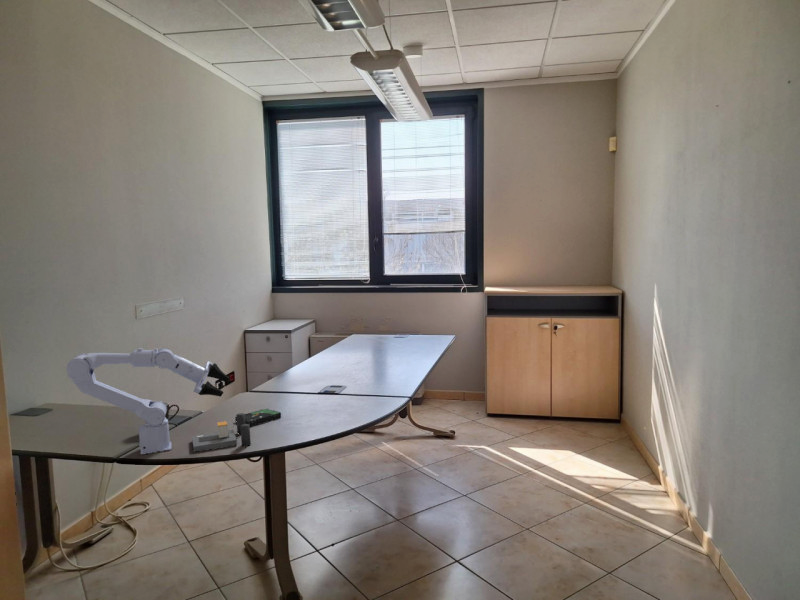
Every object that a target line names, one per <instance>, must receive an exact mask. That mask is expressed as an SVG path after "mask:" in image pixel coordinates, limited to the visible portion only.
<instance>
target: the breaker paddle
mask: <svg viewBox="0 0 800 600" xmlns="http://www.w3.org/2000/svg"><path fill="white" fill-rule="evenodd" d="M216 423H217V432H218V436H219V438H223V437H228V423H227V421H217V422H216Z"/></svg>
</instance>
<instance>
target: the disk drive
mask: <svg viewBox="0 0 800 600" xmlns="http://www.w3.org/2000/svg"><path fill="white" fill-rule="evenodd" d="M244 414H245V424H249V425H250V426H252V427H255V426H258V425H261V423H262V424H264V422H265V423H268V422H272V421H275V419H276V420H278V418H279V419H281V418H282V412H280V411H276V410H272V409H269V408H264V409H259V410H255V411H252V412H247V413H244ZM271 420H272V421H271ZM236 421H237V419H236V416H235V422H236ZM267 421H268V422H267Z"/></svg>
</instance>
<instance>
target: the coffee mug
mask: <svg viewBox="0 0 800 600" xmlns="http://www.w3.org/2000/svg"><path fill="white" fill-rule="evenodd" d="M162 402H163V403H164V404H165V405H166V406H167V412H166V414H165V417H166V419H168V423H169V422H170V421H171V420H172V419H173V418H174V417H175V416H177V414H178V413H179V411H180V407H179V406H178V405H177V404H171V405H170V402H168V401H162ZM173 407H176V408H177V410H176V412H175V413H174V414H173V415H172V416H171V417H169V416H170V415H169V414H170V410H171V408H173Z"/></svg>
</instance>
